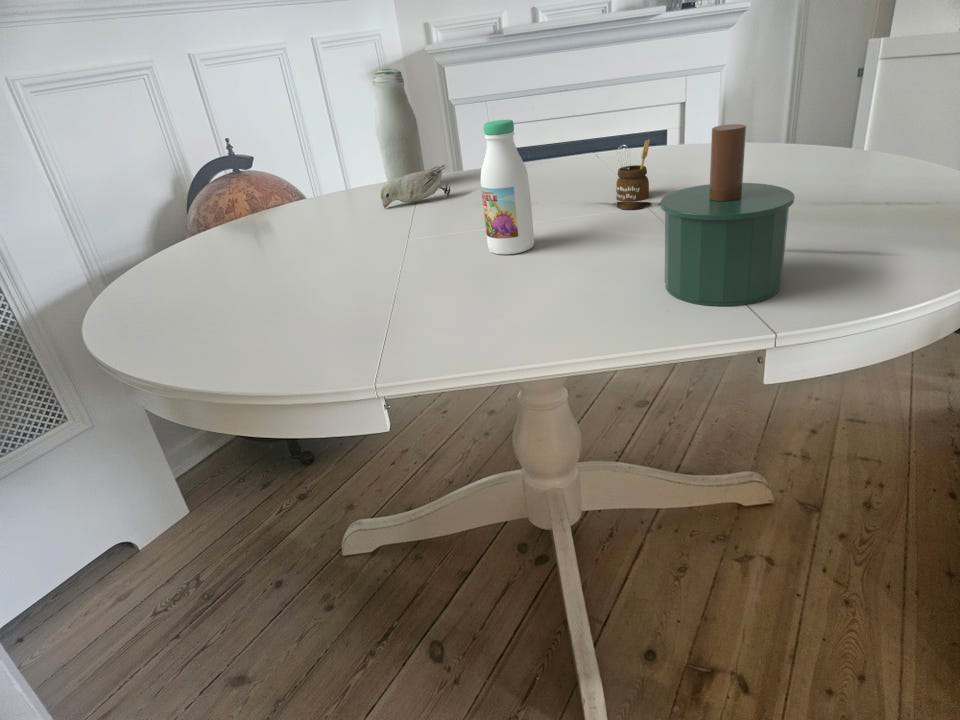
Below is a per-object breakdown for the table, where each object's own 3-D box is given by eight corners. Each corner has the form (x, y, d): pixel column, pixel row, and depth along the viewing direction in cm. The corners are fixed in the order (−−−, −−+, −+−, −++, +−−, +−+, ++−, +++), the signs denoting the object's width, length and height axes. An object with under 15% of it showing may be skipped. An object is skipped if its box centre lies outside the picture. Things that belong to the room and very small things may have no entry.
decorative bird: (381, 206, 145) (375, 173, 142) (449, 194, 148) (444, 161, 145) (384, 211, 141) (378, 177, 137) (454, 198, 144) (449, 165, 140)
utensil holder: (627, 201, 122) (625, 136, 117) (656, 203, 118) (656, 136, 113) (610, 209, 118) (608, 142, 113) (640, 211, 114) (639, 143, 109)
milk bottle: (514, 238, 109) (502, 116, 100) (544, 245, 104) (533, 117, 95) (479, 250, 106) (463, 125, 97) (507, 258, 100) (493, 126, 91)
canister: (785, 269, 82) (794, 187, 77) (773, 310, 71) (782, 219, 67) (678, 264, 88) (680, 189, 83) (653, 301, 78) (653, 218, 73)
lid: (798, 191, 78) (807, 112, 73) (786, 226, 66) (795, 135, 62) (676, 192, 85) (677, 120, 80) (646, 224, 73) (645, 142, 69)
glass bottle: (428, 183, 163) (410, 64, 150) (425, 191, 154) (404, 66, 141) (391, 187, 164) (369, 70, 151) (385, 196, 155) (361, 72, 142)
